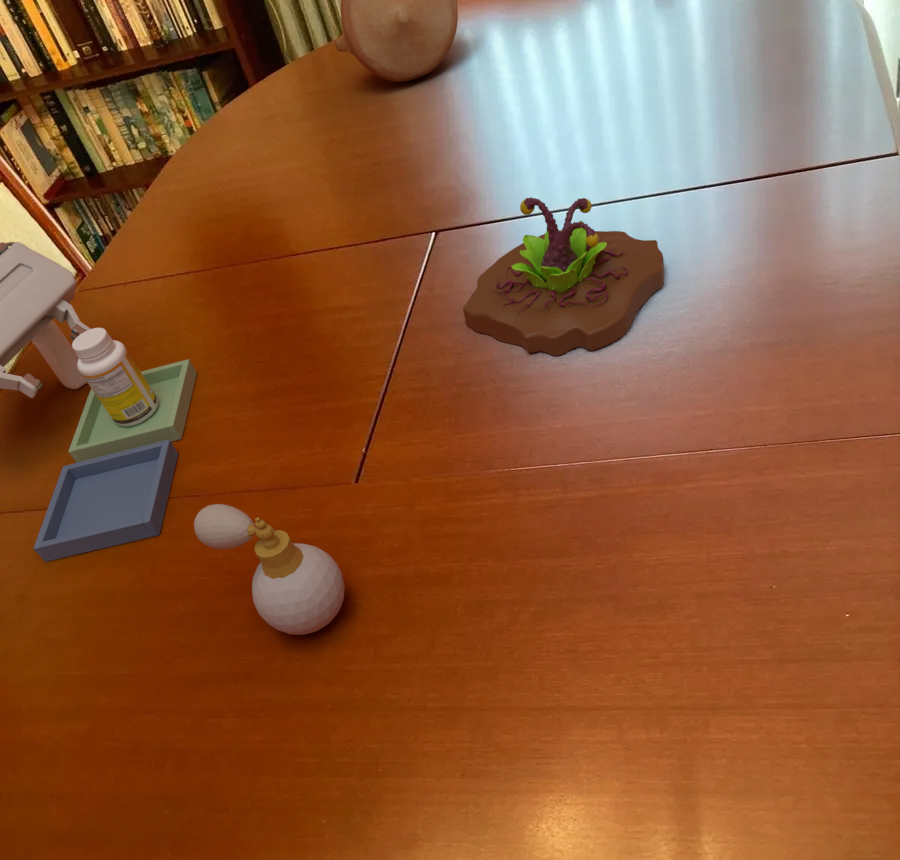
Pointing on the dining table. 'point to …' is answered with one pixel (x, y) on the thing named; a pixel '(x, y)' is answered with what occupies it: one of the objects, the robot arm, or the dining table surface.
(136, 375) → the supplement bottle
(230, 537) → the perfume bottle
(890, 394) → the dining table surface
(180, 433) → the green tray
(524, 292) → the plant
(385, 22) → the jug
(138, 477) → the blue tray
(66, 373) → the eye dropper bottle
